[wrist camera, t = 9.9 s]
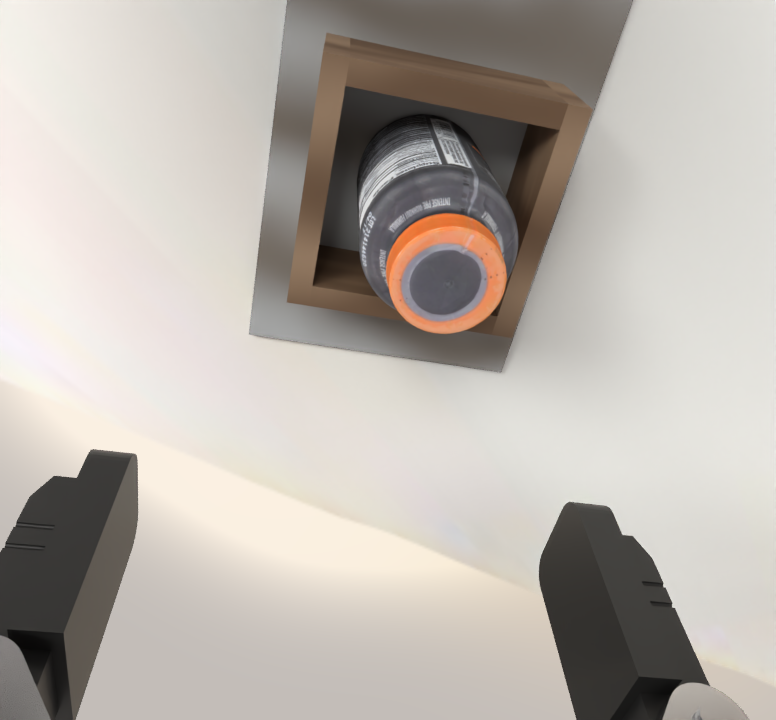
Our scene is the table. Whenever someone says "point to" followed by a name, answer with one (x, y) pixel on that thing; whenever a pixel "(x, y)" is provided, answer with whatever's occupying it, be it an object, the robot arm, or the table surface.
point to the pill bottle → (433, 225)
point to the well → (412, 97)
